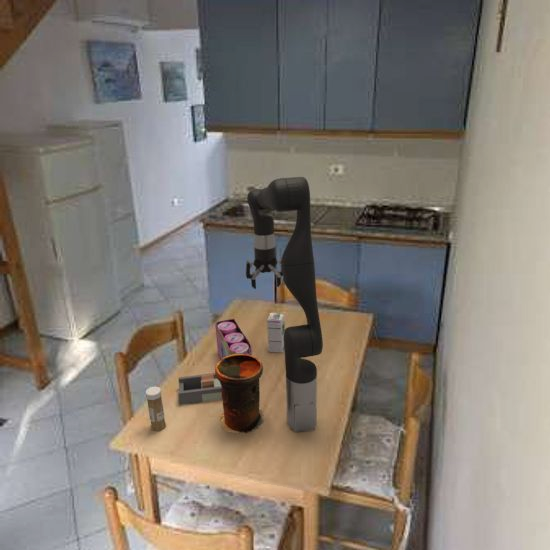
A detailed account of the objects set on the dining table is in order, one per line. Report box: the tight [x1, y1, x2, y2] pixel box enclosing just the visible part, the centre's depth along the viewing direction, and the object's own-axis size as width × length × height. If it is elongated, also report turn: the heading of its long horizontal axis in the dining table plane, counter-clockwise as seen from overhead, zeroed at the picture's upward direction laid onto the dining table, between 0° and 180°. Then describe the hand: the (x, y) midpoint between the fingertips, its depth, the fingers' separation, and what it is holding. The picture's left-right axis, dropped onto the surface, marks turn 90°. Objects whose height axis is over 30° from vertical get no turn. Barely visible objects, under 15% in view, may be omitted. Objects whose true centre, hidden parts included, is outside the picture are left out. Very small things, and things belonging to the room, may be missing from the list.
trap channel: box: [177, 372, 222, 406], centre depth 167 cm, size 9×22×4 cm, turn 100°
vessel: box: [214, 354, 265, 434], centre depth 151 cm, size 14×14×20 cm
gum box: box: [214, 318, 253, 360], centre depth 180 cm, size 24×8×14 cm, turn 20°
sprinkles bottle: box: [145, 386, 167, 432], centre depth 150 cm, size 5×5×14 cm
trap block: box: [200, 373, 214, 389], centre depth 166 cm, size 4×4×3 cm
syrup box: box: [266, 312, 286, 354], centre depth 190 cm, size 6×6×14 cm
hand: (266, 287), depth 180 cm, fingers open, 8 cm apart
